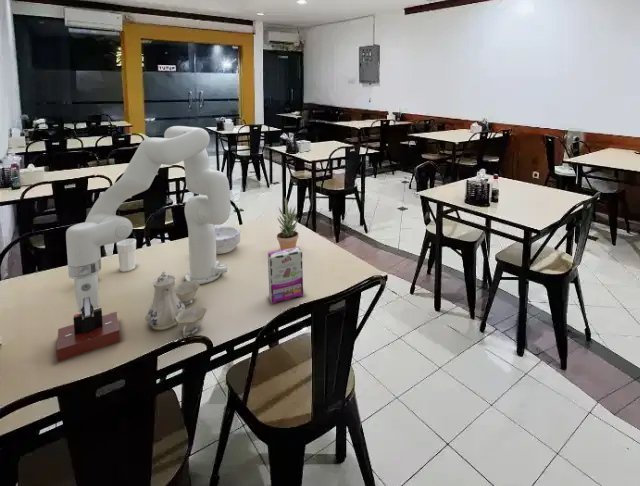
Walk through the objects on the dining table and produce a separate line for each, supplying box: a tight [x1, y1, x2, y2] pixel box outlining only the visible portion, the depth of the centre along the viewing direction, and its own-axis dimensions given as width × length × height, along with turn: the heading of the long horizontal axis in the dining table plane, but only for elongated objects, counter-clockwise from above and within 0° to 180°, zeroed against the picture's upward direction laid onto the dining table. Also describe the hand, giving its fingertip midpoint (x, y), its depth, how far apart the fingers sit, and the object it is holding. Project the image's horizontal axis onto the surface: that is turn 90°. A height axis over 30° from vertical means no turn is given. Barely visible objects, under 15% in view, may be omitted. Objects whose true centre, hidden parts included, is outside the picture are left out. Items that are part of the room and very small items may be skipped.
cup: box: [116, 238, 137, 272], centre depth 154 cm, size 7×7×11 cm
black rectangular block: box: [73, 307, 103, 335], centre depth 111 cm, size 6×2×5 cm, turn 127°
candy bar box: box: [267, 246, 304, 305], centre depth 134 cm, size 11×5×16 cm, turn 117°
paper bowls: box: [215, 226, 241, 255], centre depth 172 cm, size 15×15×8 cm
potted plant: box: [276, 197, 300, 250], centre depth 171 cm, size 10×10×25 cm
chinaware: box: [144, 271, 208, 338], centre depth 122 cm, size 28×17×17 cm, turn 35°
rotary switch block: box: [56, 311, 121, 363], centre depth 111 cm, size 14×11×4 cm
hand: (88, 327), depth 111 cm, fingers closed on black rectangular block
